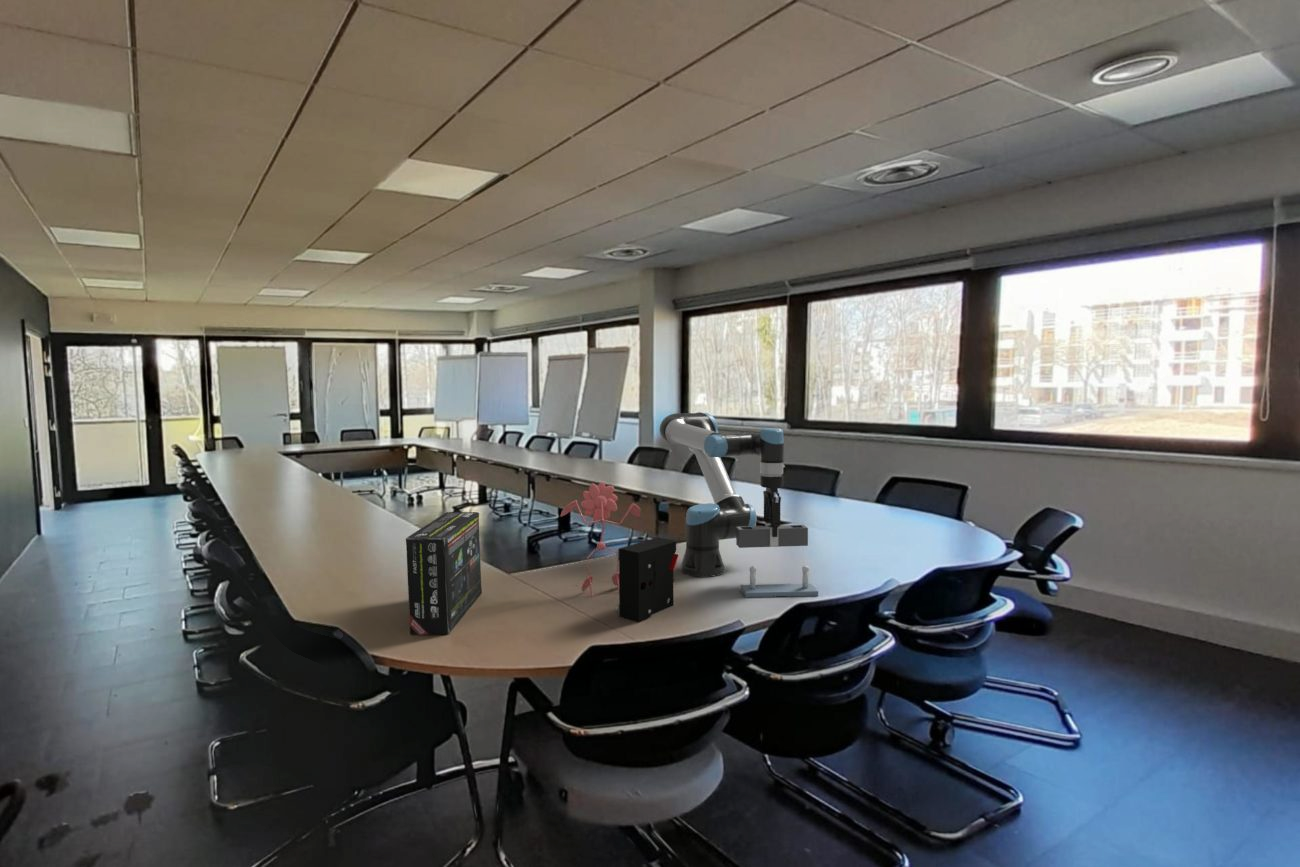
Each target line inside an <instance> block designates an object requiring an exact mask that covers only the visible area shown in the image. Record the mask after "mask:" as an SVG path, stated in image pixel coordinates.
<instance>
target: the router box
mask: <svg viewBox="0 0 1300 867" xmlns="http://www.w3.org/2000/svg"><path fill="white" fill-rule="evenodd" d="M479 517H480V512H479V511H449V512H444V513H443V514H442V515H440V516H438V517H437V518H435V519H433V520H431V522H428V523H427V524H425V525H424V526H423V527H421V528H420V529H418V530H416V531H415V532H413V533H411V535H409V536H408V537H406V538H405V546H406V550H405V551H406V567H407V568H406V570H407V572H406V574H407V575H406V576H407V594H408V613H409V615H408V616H409V634H410V635H423V636H429V635H431V636H433V635H448V634H449V635H450V634H451V632H452V631H453V629H455V627H457V624H458V623H459V622H460V621H461V620H462V618H463V617H464V616H465V615H466V613H467V612H468V611H469V610H470V608H471V607H472V606H473V605H474V604H475V602H476V601H477V600H478V598H479V597H480V596H481V595H482V594H483V590H482V573H481V571H482V570H481V547H480V546H481V543H480V542H481V541H480V518H479Z"/></svg>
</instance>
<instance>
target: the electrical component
mask: <svg viewBox="0 0 1300 867" xmlns="http://www.w3.org/2000/svg"><path fill="white" fill-rule="evenodd" d="M676 552H677V542H676V541H675V540H674V539H670V538H669V539H668V538H663V537H658V536H657V537H654V538H650V539H647V540H643V541H640V542H636V543H633V544H630V545H627V546H626V545H625V546H623V547H620V548H618V549H617V550H616V553H615V555H616V557H617V561H619V563H618V573H619V591H618V593H619V596H618V597H619V599H618V600H619V603H618V604H617V605H616V610H617V612H618V616H619V618H622V619H626V620H629V621H631V622H636V623H642V622H643V621H646V620H647V619H650V618H651V617H652V615H655V614H657V613H659V612H661V611H664V610H667V609H669V608H670V607H673V606H674V571H675V567H676V564H677V561H678V558H679V554H677V553H676Z"/></svg>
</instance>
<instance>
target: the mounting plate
mask: <svg viewBox="0 0 1300 867" xmlns="http://www.w3.org/2000/svg"><path fill="white" fill-rule="evenodd" d="M748 570H749V584H741V585H740V590H742V591H741V593H742V594H743V593H744V594H743V595H744V596H745V598H746V597H747V598H777V597H776V596H793V597H819V590H818V589H817V588H816V587H814V585H813V584H812V583H809V571H810V567H809V566H808V565H807V564H806V565H803V566H802V567H801V570H802V583H781V584H780V583H778V584H777V583H776V584H775V583H773V584H769V583H768V584H756V578H757V576H756V572H757V568H756V567H755V566H754V565H753V566H750V567H749V569H748ZM773 596H774V597H773Z"/></svg>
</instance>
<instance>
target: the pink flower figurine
mask: <svg viewBox="0 0 1300 867" xmlns="http://www.w3.org/2000/svg"><path fill="white" fill-rule="evenodd" d="M614 491H615V487H614V486H613V485H607V486H606V483H605V482H600V483H599V484H598V485H596V484H595V483H593V482H592V483H591V484H590V485H589V489H588V491H587V490H584V491H583V492H582V495H583V498H584V500H582V501H581V503H580V506H581V507H582V508H584V509H585V510H584V515H583V513H582V511H581V508H580V506H579V504H578V500H577V499H575V500H574V501H571V502H569V503H568V504H566V506H565V507H564V508H563V509H562V510H561V513H560V517H561V518H562V517H564V516H566V515H567V514H569V513H570V512H571V511H572V510H573V509H574V508H575V507H577V510H578V512H579V514H580V516H581V518H582V521H583V523H584V525H586V526H587V525H590V524H594V523H599V522H600V523H601V524H602V529H601V536H600V540H599V542H598V543H597V545H596V548H594V549H593V551H592V552H591V553H590V554H589V555H588V556H587V558H586V560H587V561H586V562H587V577H586V578H585V579H584V581H583V582H582V583H581V584H576V585H574V586H572V587H570V588H569V590H571V589H573V588H575V587H577V586H581V591H582V592H585V591H586V590H587V589H588V588H589V589H590V596H591V597H593V596H594V594H593V593H594V592H593V585H592V584H593V583H596V581H593V579H594V576H593V575H590V566H589V563H590V562H589V558H590V557H591V556H592V554H594V552H596V551H597V550H598V551H604V550H605V549H607V550H609V551H612V552H614V553H615V554H616V552H617V550H616V551H615V550H613V549H611V548H609V547H607V546H606V544H605V543H604V542H603V541H602V540H603V538H604V537H603V536H604V531H605V528H606V527H605V525H606V524H605V523H609V524H614V525H618V526H621V524H622V523H623V522H624V521H625V519H626V517H627V516H628V514H629V513H630V514H632V515H633V516H634V517H636V518H639V517H640V515H641V513H642V509H641V507H640V506H638V505H637V504H635V503H634V502H633V503H631V504H630V505H629V507H628V510H627V511H626V513H625V514H624V515H623V518H621V521H620V522H615V521H611V520H608V519H609V518H610V515H611V512H616V511H618V506H617V503H616V502H617V501H618V499H619V498H618V496H617V495H616V494H615V493H614ZM584 516H586V517H591V516H592V519H593V520H592V521H589V522H586V519H585V518H584ZM608 582H609V581H604V583H608ZM611 582H612V583H613V585H615V586H616V587H617V589H618V592H619V561H618V560H617V563H616V572H615V573H613V574H612V577H611Z"/></svg>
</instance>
